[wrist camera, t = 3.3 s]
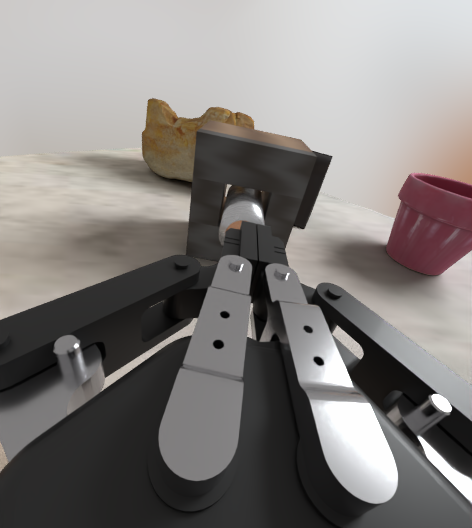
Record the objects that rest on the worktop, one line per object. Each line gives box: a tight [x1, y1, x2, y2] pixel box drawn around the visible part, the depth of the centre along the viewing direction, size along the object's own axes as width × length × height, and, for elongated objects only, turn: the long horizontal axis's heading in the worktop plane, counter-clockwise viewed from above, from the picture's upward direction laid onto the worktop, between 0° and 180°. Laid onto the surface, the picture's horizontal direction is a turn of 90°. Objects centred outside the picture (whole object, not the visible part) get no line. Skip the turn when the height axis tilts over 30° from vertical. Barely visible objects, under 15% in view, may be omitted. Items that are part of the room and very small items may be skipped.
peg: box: [219, 185, 265, 246], centre depth 28 cm, size 4×10×4 cm, turn 177°
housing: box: [186, 120, 317, 261], centre depth 33 cm, size 12×10×14 cm
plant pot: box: [386, 173, 472, 275], centre depth 40 cm, size 14×14×13 cm
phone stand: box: [294, 151, 332, 229], centre depth 47 cm, size 9×6×12 cm, turn 157°
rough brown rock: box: [142, 99, 254, 182], centre depth 54 cm, size 23×17×15 cm
